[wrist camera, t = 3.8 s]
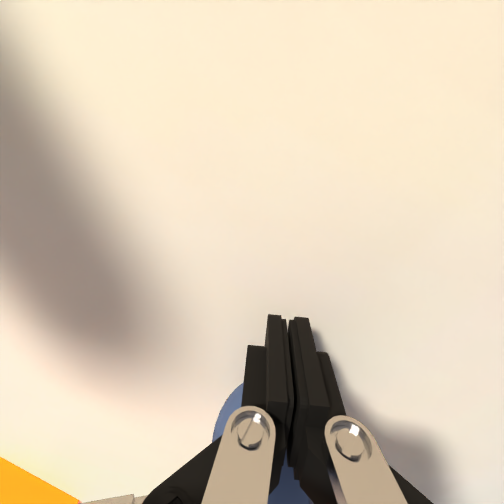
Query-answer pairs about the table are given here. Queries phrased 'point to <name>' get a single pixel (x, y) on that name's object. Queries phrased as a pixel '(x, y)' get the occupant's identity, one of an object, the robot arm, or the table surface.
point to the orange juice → (28, 488)
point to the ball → (288, 491)
